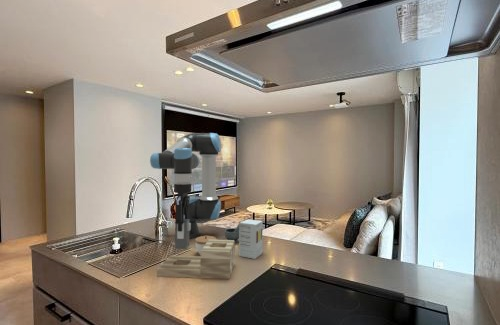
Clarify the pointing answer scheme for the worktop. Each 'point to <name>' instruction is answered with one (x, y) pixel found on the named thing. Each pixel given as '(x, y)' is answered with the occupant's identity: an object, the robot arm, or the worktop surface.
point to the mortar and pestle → (232, 234)
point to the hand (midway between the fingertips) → (182, 236)
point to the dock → (202, 262)
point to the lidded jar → (202, 242)
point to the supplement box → (250, 238)
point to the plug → (184, 242)
